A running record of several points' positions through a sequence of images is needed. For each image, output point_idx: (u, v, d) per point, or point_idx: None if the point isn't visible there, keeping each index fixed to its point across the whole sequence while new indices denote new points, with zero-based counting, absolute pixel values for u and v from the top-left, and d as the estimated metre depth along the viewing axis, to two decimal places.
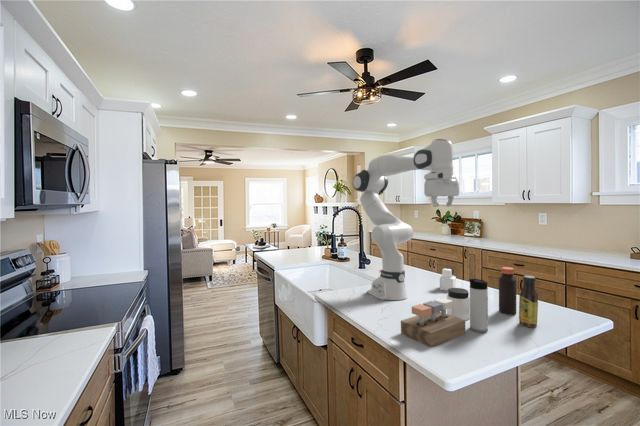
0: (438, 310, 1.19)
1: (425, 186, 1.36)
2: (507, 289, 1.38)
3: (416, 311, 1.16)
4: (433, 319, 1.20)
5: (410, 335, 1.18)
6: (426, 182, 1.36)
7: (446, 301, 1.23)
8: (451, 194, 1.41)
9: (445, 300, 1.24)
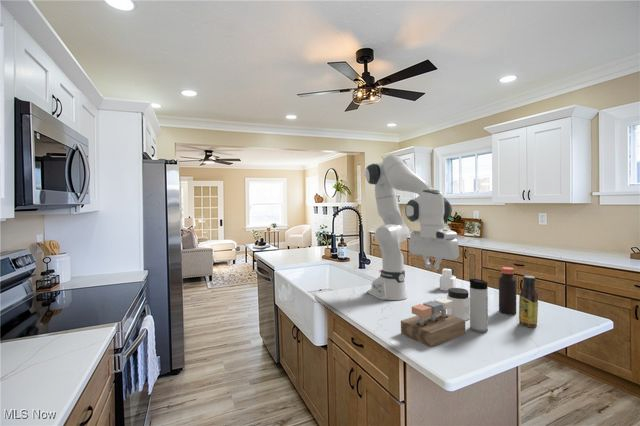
0: (438, 310, 1.19)
1: (452, 248, 1.11)
2: (507, 289, 1.38)
3: (416, 311, 1.16)
4: (433, 319, 1.20)
5: (410, 335, 1.18)
6: (452, 243, 1.11)
7: (446, 301, 1.23)
8: None
9: (445, 300, 1.24)
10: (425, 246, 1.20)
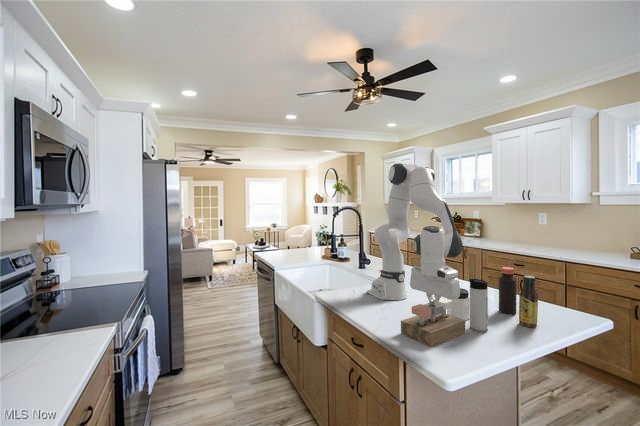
0: (438, 312, 1.19)
1: (453, 287, 1.11)
2: (507, 289, 1.38)
3: (416, 311, 1.16)
4: (433, 321, 1.20)
5: (410, 335, 1.18)
6: (453, 282, 1.12)
7: (446, 301, 1.23)
8: None
9: (445, 300, 1.24)
10: (426, 282, 1.21)
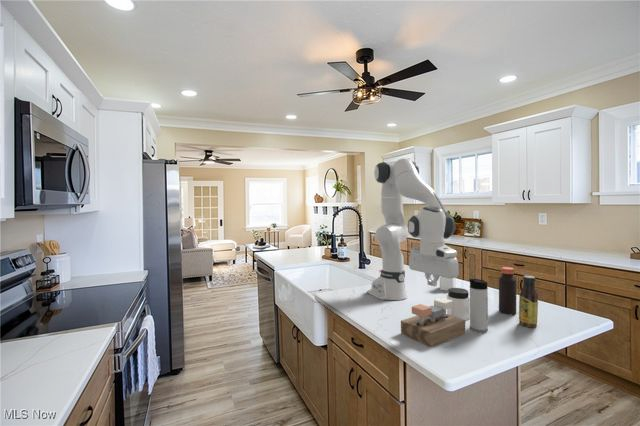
0: (438, 315, 1.19)
1: (452, 267, 1.11)
2: (507, 289, 1.38)
3: (416, 311, 1.16)
4: None
5: (410, 335, 1.18)
6: (451, 261, 1.12)
7: (446, 301, 1.23)
8: None
9: (445, 300, 1.24)
10: (425, 263, 1.21)
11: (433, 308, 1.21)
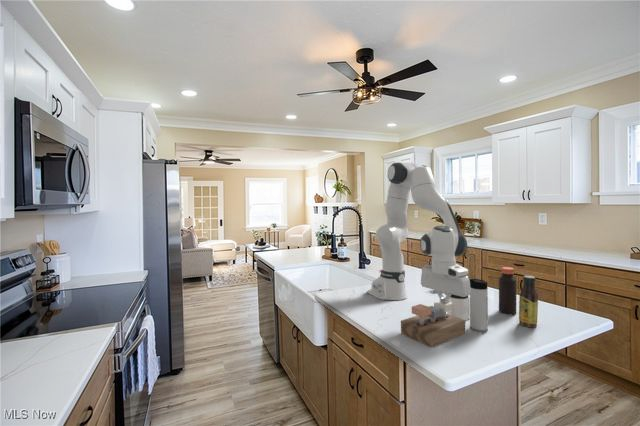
0: (438, 315, 1.19)
1: (464, 285, 1.15)
2: (507, 289, 1.38)
3: (416, 311, 1.16)
4: None
5: (410, 335, 1.18)
6: (463, 280, 1.15)
7: None
8: None
9: None
10: (437, 281, 1.24)
11: (433, 308, 1.21)
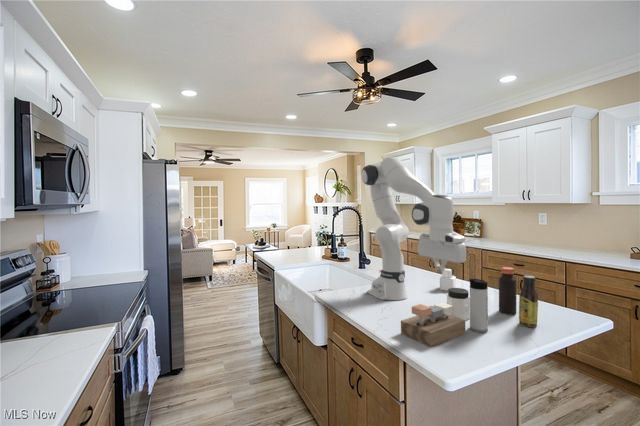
0: (438, 315, 1.19)
1: (460, 251, 1.17)
2: (507, 289, 1.38)
3: (416, 311, 1.16)
4: None
5: (410, 335, 1.18)
6: (460, 246, 1.17)
7: (446, 306, 1.23)
8: None
9: (445, 305, 1.24)
10: (433, 248, 1.26)
11: (433, 308, 1.21)
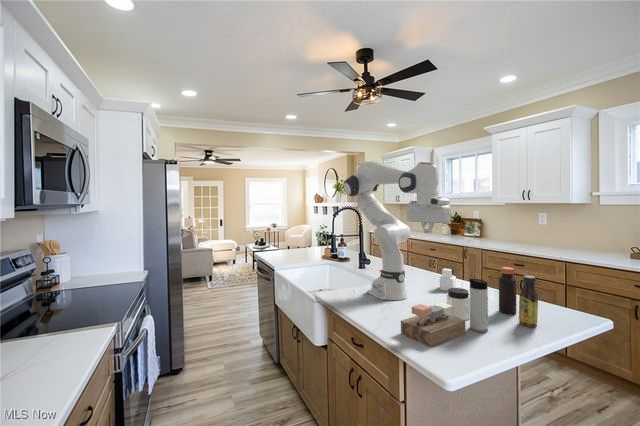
0: (438, 315, 1.19)
1: (445, 212, 1.24)
2: (507, 289, 1.38)
3: (416, 311, 1.16)
4: None
5: (410, 335, 1.18)
6: (444, 208, 1.25)
7: (446, 306, 1.23)
8: None
9: (445, 305, 1.24)
10: (421, 213, 1.34)
11: (433, 308, 1.21)
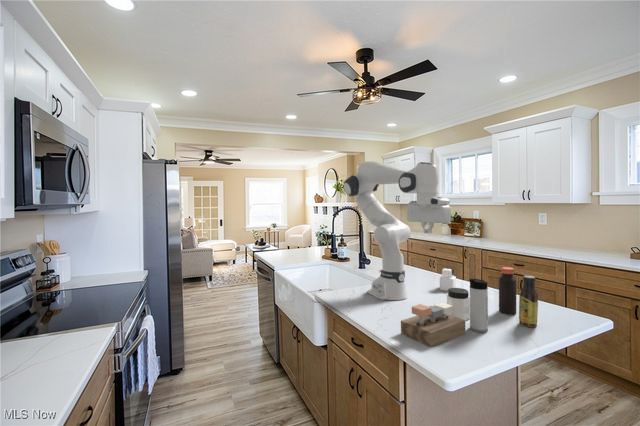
0: (438, 315, 1.19)
1: (445, 212, 1.24)
2: (507, 289, 1.38)
3: (416, 311, 1.16)
4: None
5: (410, 335, 1.18)
6: (444, 208, 1.25)
7: (446, 306, 1.23)
8: None
9: (445, 305, 1.24)
10: (421, 213, 1.34)
11: (433, 308, 1.21)
